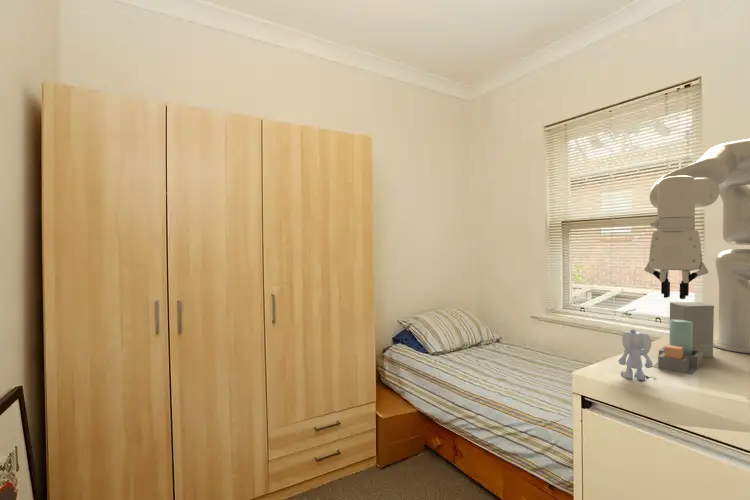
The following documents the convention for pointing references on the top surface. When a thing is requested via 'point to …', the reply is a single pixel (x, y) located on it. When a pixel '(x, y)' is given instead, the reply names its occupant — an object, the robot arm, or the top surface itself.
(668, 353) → the plunger
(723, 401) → the top surface
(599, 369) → the top surface
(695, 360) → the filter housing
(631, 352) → the toy figurine
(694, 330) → the skincare box
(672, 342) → the cartridge
